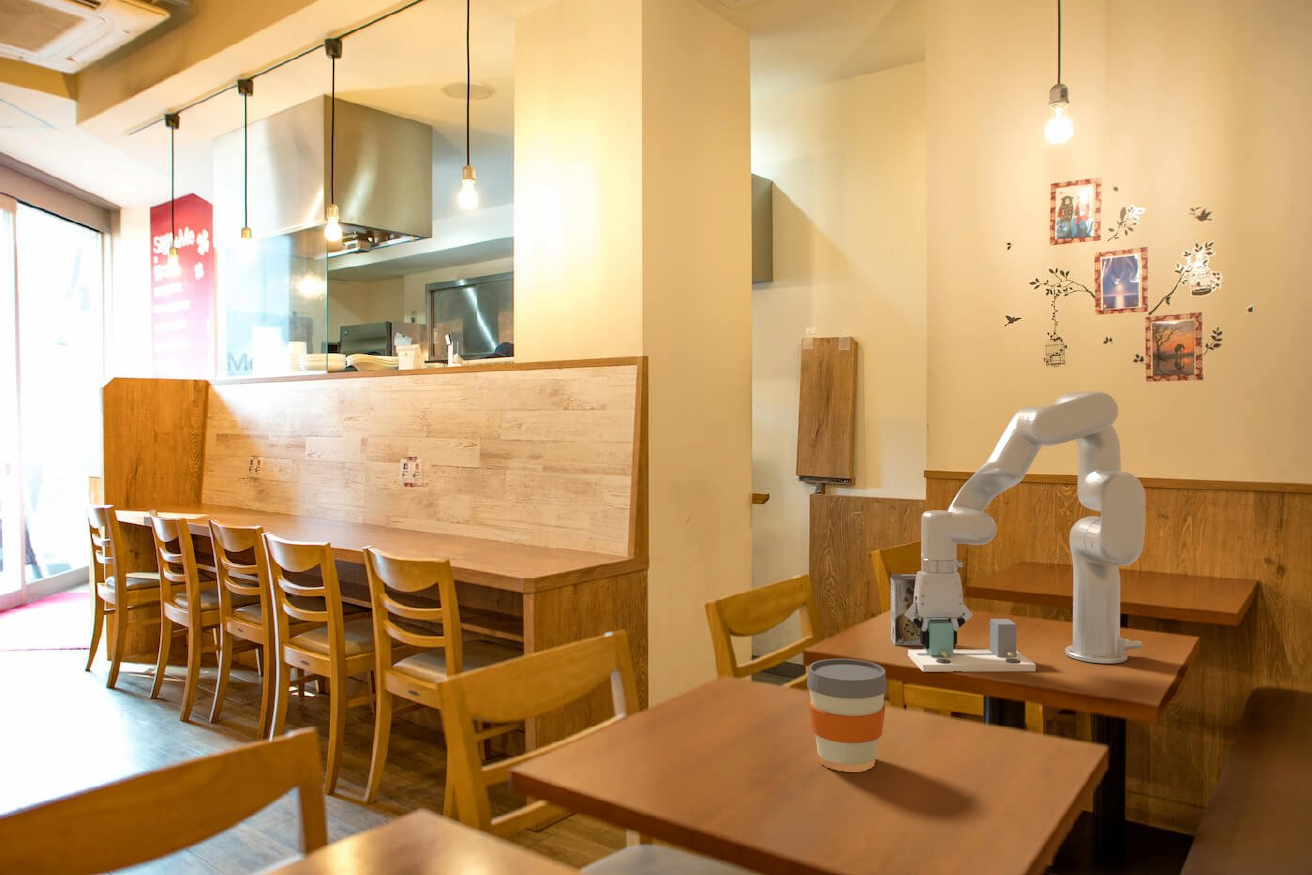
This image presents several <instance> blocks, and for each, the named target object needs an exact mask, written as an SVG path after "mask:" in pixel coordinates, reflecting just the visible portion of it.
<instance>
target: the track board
mask: <svg viewBox="0 0 1312 875" xmlns="http://www.w3.org/2000/svg"><path fill="white" fill-rule="evenodd" d="M908 656H909V657H910V658H909V657H908ZM907 657H908V658H909V659H910V660H911V661H912V662H913V664H915V665H916V666H917V667H918V668H919V669H920V670H921V671H922V672H923V673H924V672H925V673H926V672H927V673H928V672H930V673H931V672H933V673H935V672H936V673H937V672H939V673H940V672H941V673H942V672H945V673H946V672H953V671H962V672H1036V668H1037V667H1036V665H1037V664H1036V662H1035V663H1034V662H1033V661H1032V660H1031V659H1029V658H1028V657H1026V656H1024V655H1023V654H1021V653H1020V652H1019V651H1018V650H1017V624H1016V623H1015V622H1014V621H1012V620H1011V619H1009V618H990V619H989V648H987V649H986V648H985V649H981V648H980V649H978V648H977V649H973V648H970V649H965V648H964V649H956V648H955V649H953V655H948V656H947V657H944V656H943V655H930V654H929V653H928V652H927V651H925V650H924V649H907Z"/></svg>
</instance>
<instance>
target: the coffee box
mask: <svg viewBox="0 0 1312 875" xmlns="http://www.w3.org/2000/svg"><path fill="white" fill-rule="evenodd" d="M916 575H917V573H904V574H903V573H900V574H899V573H896V574H895V573H894V574H893V573H890V640H891V641H892V643H893V645H894V646H922V644H921V643H920V628H919V627H918V626H917V625H916V624H915V623H914V622H913V621H911V620H910V619H909V618H908V617H906V616H905V613H906V611H907V610H908V609H909V608H910V606H911V605H912V604H913V601H914V589H915V581H916ZM914 616H915V617H916V618H918V619H919V620H920V618H921V617H920V616H919V614H917V613H914ZM922 647H923V646H922Z"/></svg>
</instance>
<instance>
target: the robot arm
mask: <svg viewBox="0 0 1312 875" xmlns="http://www.w3.org/2000/svg"><path fill="white" fill-rule="evenodd" d="M1118 415H1119V406H1118V403H1117V401H1116V400H1115V399H1114V397H1113V396H1111V395H1110V394H1108V393H1107V392H1104V391H1103V392H1102V391H1071V392H1067V393H1064V394H1063V393H1062V395H1060V396H1058V398H1057V399H1056V400H1055V401H1054V404H1052V405H1047V406H1027V407H1022V408H1020V409H1018V410H1017V411H1016V412H1015V413H1014V414H1013V415H1012V417H1011V418H1010V421H1009V422H1008V424H1006V427H1005V429H1004V431H1003V432H1002V434H1001V436H1000V438H999V439H998V441H997V444H996V445H995V446H994V448H993V450H992V451H991V454H990V455H989V456H988V457H987V460H986V461H985V462H984V464H983V465H982V466H981V467H979V469H977V471H976V472H974V474H973V475H972V476H970V478H969V479H968V480H967V481H966V482H965V483H963V485H962V487H961V488H960V489H959V491H958V492H957V494H956V496H955V497H954V499H953V500H952V502H951V504H950V506H949V508H948V509H947V510H941V509H938V510H937V509H936V510H926V511H924V512H923V513H922V515H921V519H920V523H921V524H920V531H921V532H920V541H921V542H920V546H921V547H920V552H921V553H920V570H918V571H917V573H916V574H917V575H916V581H915V589H914V601H913V604H912V605H911V606H910V608H909V609H908V610H907V611H906V613H905V616H906V617H908V618H909V619H910V620H911V621H913V622H914V623H915V624H916V625H917V626H918V627H919V628H920V643H921V644H922V647H923V649H924V648H925V649H929V631H928V628H927V627H928V624H929V621H930V618H947V619H948V620H949V621H951V622H952V623H953V650H956V645H958V632H959V631H960V628H961V627H962V626H963V625H965V623H967V621H969V620H970V619H971V618H972V617H973V613H972V612H971V610H970V609H969V608H968V606H967V605H965V603H964V596H963V595H964V594H963V587H962V580H961V575H960V572H958V569H959V568H963V567H964V563H963V561H962V560H958V558H957V550H958V549H957V548H958V547H957V545H958V544H964V545H965V544H966V545H970V546H971V545H972V546H981V545H985V544H988V543H990V542H991V541H992V540H993V539H994V538H995V536H996V533H997V524H996V522H995V520H994V518H993V517H992V516H991V515H990V514H988V513H986V512H984V511H985V510H986V509H987V507H988V505H990V503H991V502H992V501H993V500H994V499H995V498H996V497H997V496H999V495H1000V494H1001V493H1003V492H1005V491H1007V490H1009V489H1011V488H1013V487H1015V486H1017V485H1018V484H1020V483H1021V482H1022V481H1023V480H1024V478H1025V477H1026V475H1027V472H1028V471H1029V469H1030V467H1031V466H1032V464H1033V462H1034V461H1035V459H1036V457H1037V456H1038V453H1039V452H1040V451H1041V449H1042V447H1043V446H1046V447H1047V446H1057V445H1061V444H1065V443H1070V442H1071V441H1072V442H1073V441H1074V440H1075V441H1076V445H1077V451H1078V461H1077V462H1078V464H1077V466H1078V469H1077V490H1076V492H1077V497H1078V500H1079V503H1081V505H1082V506H1083V507H1085V508H1086V509H1089V510H1093V511H1094V512H1100V516H1095V515H1091V516H1090V515H1089V516H1085V517H1083V518H1080V519H1078V520H1076V522H1075V523H1074V524H1073V525H1072V528H1071V529H1070V532H1069V548H1070V553H1071V559H1072V560H1071V561H1072V571H1073V575H1072V576H1073V577H1072V578H1073V579H1072V580H1073V583H1072V584H1073V585H1072V586H1073V588H1072V591H1073V592H1072V601H1073V602H1072V607H1073V608H1072V644H1070V645H1068V646H1066V647H1065V649H1064V650H1065V652H1064V653H1065V655H1067V656H1068V657H1070V658H1072V659H1074V660H1078V661H1082V662H1086V663H1087V662H1088V663H1094V664H1095V663H1096V664H1108V665H1109V664H1110V665H1111V664H1121V663H1123V662H1126V661H1127V660H1128V653H1127V651H1129V650H1142V649H1143V643H1142V641H1141V640H1130V638H1129V639H1127V638H1124V637H1121V633H1120V632H1121V628H1120V627H1121V575H1120V569H1119V567H1123V566H1129V565H1131V564H1133V563H1135V562H1136V561H1137V560H1138V559H1139V558H1140V556H1141V554H1142V553H1143V552H1142V551H1143V548H1144V544H1145V533H1146V530H1145V529H1146V510H1147V508H1146V507H1147V506H1146V504H1147V503H1146V502H1147V501H1146V500H1147V499H1146V498H1147V497H1146V491H1145V488H1144V485H1143V484H1142V483H1141V481H1140V480H1139V478H1137V477H1136V476H1135V475H1134V474H1132V473H1129V472H1126V471H1123V470H1121V469H1122V468H1121V466H1122V465H1121V464H1122V462H1121V460H1122V459H1121V444H1120V443H1121V442H1120V439H1119V436H1118V433H1117V431H1116V429H1115V427H1114V425H1113V424H1114V423H1115V422H1116V420H1117V418H1118ZM914 613H917V614H919V616H920V617H921V618H920V620H919V619H918V618H916V617H915V616H914Z"/></svg>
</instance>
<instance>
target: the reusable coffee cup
mask: <svg viewBox="0 0 1312 875" xmlns="http://www.w3.org/2000/svg"><path fill="white" fill-rule="evenodd" d="M806 679H807V681H806V686H807V688H808V689H809V696H810V699H809V700H808V707H809V708H808V709H809V715H810V716H809V717H810V723H811V731H812V732H813V734H814V736H815V742H816V749H817V751H816V752H817V755H818V754H819V756H820V757H821V758H823V759H825V760H827V761H831V762H835V763H840V764H846V765H858V764H866V763H868V762H871V761H874V760H875V759H876V760H877V754H878V748H879V747H878V746H879V739H880V737H882V736H883V728H884V722H885V721H884V720H885V714H886V713H885V712H886V704H885V703H884V701H885V700H884V699H885V693H887V690H888V686H887V683H888V682H887V675H886V669H885V668H884V667H882V666H881V665H879V664H877V663H874V662H870V661H866V660H860V659H855V658H853V659H852V658H830V659H829V658H827V659H822V660H817V661H814V662H812V663H810V664H809V665H808V671H807V678H806Z"/></svg>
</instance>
